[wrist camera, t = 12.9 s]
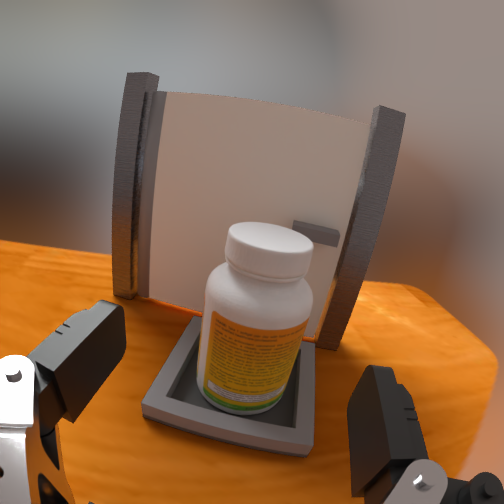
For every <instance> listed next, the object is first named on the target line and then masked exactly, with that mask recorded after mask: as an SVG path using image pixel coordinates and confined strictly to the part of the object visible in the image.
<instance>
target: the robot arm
mask: <svg viewBox="0 0 504 504" xmlns="http://www.w3.org/2000/svg"><path fill="white" fill-rule="evenodd" d="M125 350H126V331H125V317H124V309H123V307H122V306H120V305H117V304H114V303H111V302H108V301H105V300H100V301H98V302H97V303H96V304H95V305H94V306H93V307H92V308H90V309H89V310H87V309H85V310H82V311H80V312H78V313H75V314H73V315H72V316H71V317H69V318H68V319H67V320H66V321H65V322H64V323H63V325H60V326H59V327H58V328H57V329H56V330H55V332H53V333H51V334H50V335H49V336H48V337H47V338H46V339H45V340H44V341H43V342H42V343H40V344H39V345H38V346H37V347H36V348H35V349H34V350H33V351H32V352H31V353H30V354H29V355H28V356H26V357H23V356H19V355H12V356H8V357H5V358H3V359H1V360H0V504H75V500H74V497H73V494H72V491H71V488H70V486H69V484H68V482H67V479H66V476H65V471H64V465H63V458H62V451H61V444H60V435H59V427H58V424H57V423H58V421H59V420H60V419H61V418H62V417H63V418H65V419H66V420H68V421H70V422H72V423H74V422H75V421H76V419H77V418H78V416H79V415H80V414H81V412H82V411H83V410H84V408H85V407H86V406H87V404H88V403H89V401H90V400H91V399H92V397H93V396H94V395H95V393H96V392H97V391H98V389H99V388H100V387H101V385H102V384H103V383H104V381H105V380H106V379H107V377H108V376H109V375H110V373H111V372H112V371H113V369H114V368H115V367H116V366H117V364H118V363H119V362H120V360H121V359H122V357H123V355H124V353H125ZM417 420H418V417H417V413H416V411H415V407H414V403H413V400H412V397H411V395H410V394H409V392H408V391H407V390H406V388H405V387H404V386H403V385H402V384H397V382H396V378H395V375H394V372H393V369H392V368H390V367H383V366H375V365H368V366H367V367H366V369H365V371H364V373H363V375H362V377H361V379H360V380H359V382H358V384H357V386H356V388H355V390H354V392H353V393H352V395H351V397H350V400H349V403H348V407H347V421H348V434H349V448H350V466H351V492H352V497H364V501H365V504H504V490H503V486H502V484H501V482H500V480H499V479H498V478H497V477H496V476H495V475H493V474H492V473H489V472H482V473H480V474H478V475H476V476H475V477H474V478H473V479H471V480H470V481H469V482H468V481H463V480H457V479H452V478H448V477H447V475H446V473H445V471H444V469H443V468H442V467H441V466H440V465H439V464H437V463H436V462H434V461H431V460H429V458H428V454H427V450H426V446H425V442H424V438H423V435H422V431H421V427H420V424H419V421H417ZM88 504H94V503H92V502H89V503H88Z"/></svg>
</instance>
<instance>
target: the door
mask: <svg viewBox="0 0 504 504" xmlns="http://www.w3.org/2000/svg"><path fill="white" fill-rule="evenodd" d="M370 127H371V125H370V124H366V123H362V122H359V121H355V120H352V119H348V118H344V117H339V116H336V115H332V114H327V113H323V112H318V111H314V110H309V109H304V108H299V107H294V106H288V105H283V104H277V103H272V102H265V101H259V100H252V99H244V98H237V97H227V96H219V95H208V94H195V93H181V92H164V91H154V92H153V96H152V102H151V108H150V115H149V121H148V129H147V136H146V144H145V153H144V162H143V172H142V183H141V196H140V211H139V230H138V271H137V286H138V295H139V296H141V297H145V298H152V299H156V300H159V301H163V302H166V303H170V304H173V305H177V306H180V307H184V308H188V309H191V310H195V311H199V312H203V305H204V295H205V289H206V283H207V280H208V277H209V275H210V274H211V272H212V271H213V270H214V269H215V268H216V267H218V266H219V265H221V264H223V263H225V262H226V259H225V246H226V242H227V236H228V231H229V228H230V227H231V226H232V225H234V224H237V223H242V222H261V223H268V224H274V225H278V226H282V227H285V228H289V229H291V230H294V231H296V232H299V233H301V234H303V235H304V236H306V237H307V238H309V239H310V240H311V241H312V243H313V245H314V249H313V253H312V258H311V262H310V266H309V269H308V272H307V274H306V276H305V277H304V279H305V280H306V282H307V283H308V284H309V286H310V288H311V290H312V294H313V306H312V310H311V314H310V317H309V320H308V323H307V326H306V329H305V332H304V335H303V336H306V337H311V338H314V335H315V332H316V329H317V326H318V323H319V320H320V317H321V314H322V311H323V308H324V305H325V302H326V299H327V296H328V293H329V289H330V286H331V283H332V280H333V276H334V273H335V270H336V266H337V263H338V260H339V256H340V253H341V249H342V246H343V242H344V238H345V235H346V231H347V227H348V223H349V220H350V216H351V212H352V208H353V204H354V200H355V196H356V192H357V187H358V183H359V179H360V175H361V170H362V166H363V161H364V156H365V152H366V147H367V142H368V137H369V132H370Z"/></svg>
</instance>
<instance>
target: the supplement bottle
mask: <svg viewBox="0 0 504 504" xmlns="http://www.w3.org/2000/svg"><path fill="white" fill-rule="evenodd" d="M313 249H314V245H313V243H312V241H311V240H310V239H309V238H307V237H306V236H304V235H303V234H301V233H299V232H296V231H294V230H291V229H289V228H285V227H282V226H278V225H274V224H268V223H261V222H242V223H237V224H234V225H232V226H231V227H230V228H229V231H228V236H227V242H226V246H225V259H226V262H225V263H223V264H221V265H219V266H218V267H216V268H215V269H214V270H213V271H212V272H211V274H210V275H209V277H208V280H207V283H206V289H205V295H204V305H203V314H202V323H201V333H200V342H199V352H198V361H197V385H198V388H199V390H200V392H201V394H202V395H203V396H204V398H205V399H206V400H207V401H208V402H210V403H211V404H212V405H214V406H215V407H217V408H218V409H221V410H223V411H225V412H228V413H231V414H236V415H254V414H259V413H262V412H265V411H267V410H269V409H271V408H272V407H273V406H275V405H276V404H277V403H278V402H279V400H280V399H281V397H282V395H283V392H284V390H285V388H286V385H287V382H288V379H289V376H290V373H291V370H292V367H293V365H294V362H295V359H296V356H297V354H298V351H299V347H300V344H301V341H302V338H303V335H304V332H305V329H306V326H307V323H308V320H309V317H310V314H311V310H312V306H313V294H312V290H311V288H310V286H309V284H308V283H307V282H306V280H305V279H304V277H305V276H306V274H307V272H308V269H309V266H310V262H311V258H312V253H313Z"/></svg>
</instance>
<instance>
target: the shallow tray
mask: <svg viewBox="0 0 504 504" xmlns="http://www.w3.org/2000/svg"><path fill="white" fill-rule="evenodd" d="M201 323H202V317H198V316H193V318H192V319H191V321H190V323H189V324H188V326H187V327H186V329H185V331H184V332H183V334H182V336H181V337H180V339H179V341H178V342H177V344H176V346H175V347H174V349H173V350H172V352H171V354H170V355H169V357H168V359H167V360H166V362H165V364H164V365H163V367H162V369H161V370H160V372H159V374H158V375H157V377H156V379H155V380H154V382H153V384H152V385H151V387H150V389H149V390H148V392H147V394H146V395H145V397H144V399H143V400H142V402H141V406H142V413H143V417H145V418H148V419H151V420H153V421H156V422H159V423H162V424H165V425H168V426H171V427H174V428H177V429H180V430H183V431H186V432H189V433H193V434H196V435H199V436H203V437H206V438H210V439H214V440H218V441H221V442H225V443H229V444H234V445H238V446H242V447H247V448H252V449H257V450H262V451H267V452H272V453H278V454H284V455H291V456H298V457H305V458H306V457H307V455H308V454H309V452H310V451H311V449H312V448H313V446H314V417H315V343H310V342H305V341H301V344H300V347H299V351H298V354H297V356H296V359H295V362H294V365H293V367H292V370H291V373H290V376H289V379H288V382H287V385H286V388H285V390H284V392H283V395H282V397H281V399H280V400H279V402H278V403H277V404H276V405H275V406H273V407H272V408H271V409H269V410H267V411H265V412H262V413H259V414H254V415H236V414H231V413H228V412H225V411H223V410H221V409H218V408H217V407H215V406H214V405H212V404H211V403H210V402H208V401H207V400H206V399H205V398H204V396H203V395H202V394H201V392H200V390H199V388H198V385H197V361H198V352H199V342H200V333H201Z"/></svg>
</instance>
